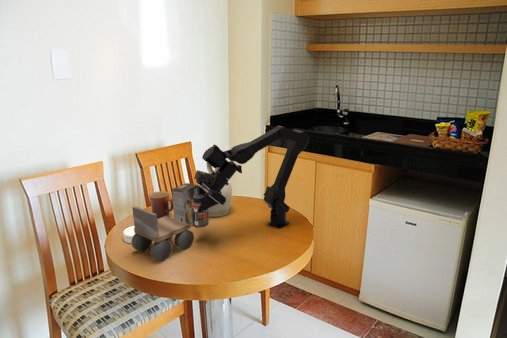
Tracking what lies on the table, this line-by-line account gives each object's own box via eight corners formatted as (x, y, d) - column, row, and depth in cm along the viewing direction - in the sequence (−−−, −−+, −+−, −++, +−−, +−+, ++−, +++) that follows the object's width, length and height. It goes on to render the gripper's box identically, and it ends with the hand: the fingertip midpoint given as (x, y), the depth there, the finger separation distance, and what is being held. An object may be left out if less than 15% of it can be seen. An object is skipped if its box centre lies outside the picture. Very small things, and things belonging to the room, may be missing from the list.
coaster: (124, 234, 152) (123, 226, 151) (150, 231, 154) (150, 223, 153) (123, 245, 143) (122, 237, 142) (151, 242, 145) (150, 233, 144)
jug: (225, 203, 182) (223, 151, 175) (238, 214, 168) (235, 158, 161) (193, 208, 176) (190, 155, 169) (203, 221, 162) (200, 163, 155)
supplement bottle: (198, 229, 140) (196, 200, 137) (189, 225, 144) (187, 196, 141) (212, 224, 143) (210, 196, 140) (203, 220, 148) (200, 192, 145)
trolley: (170, 235, 150) (167, 194, 145) (194, 245, 141) (191, 201, 137) (132, 252, 137) (127, 208, 132) (156, 264, 129) (151, 217, 124)
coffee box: (189, 218, 165) (186, 182, 161) (201, 221, 162) (198, 184, 158) (174, 226, 158) (171, 188, 154) (186, 229, 155) (183, 191, 150)
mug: (146, 218, 166) (144, 196, 163) (161, 211, 173) (159, 190, 170) (167, 224, 160) (164, 200, 157) (181, 217, 167) (179, 194, 164)
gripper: (199, 156, 147) (173, 189, 146) (215, 168, 130) (185, 205, 129) (220, 173, 152) (195, 205, 151) (238, 187, 136) (210, 222, 135)
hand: (196, 208), depth 141 cm, fingers closed on supplement bottle, 6 cm apart
